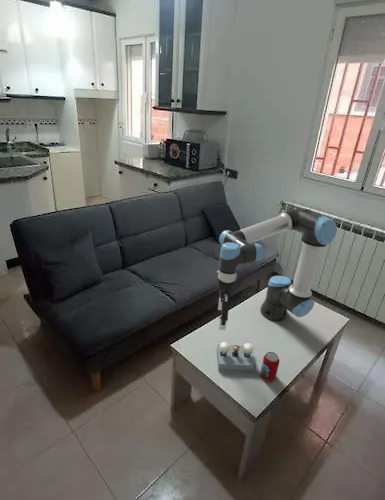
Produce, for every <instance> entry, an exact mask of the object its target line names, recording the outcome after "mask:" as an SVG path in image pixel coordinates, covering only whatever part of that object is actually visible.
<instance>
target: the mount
mask: <svg viewBox="0 0 385 500" xmlns="http://www.w3.org/2000/svg"><path fill="white" fill-rule="evenodd" d="M229 345H230V347H229V351H228V352H226V354H222V351H221V350H220V344H217V345H216V357H217V369H218V371H225V372H248V373H253V372H255V367H256V365H255V361H254V356H253V355H254V354H253V352H252V353H249V356H247V355H246V352H245V351H244V350H243V349H244V345H240V344H239V345H238V346H239V347H240V349H239V350H238V354H237V355H234V349H233V347H234V345H235V344H229Z"/></svg>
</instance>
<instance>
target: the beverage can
mask: <svg viewBox="0 0 385 500" xmlns="http://www.w3.org/2000/svg"><path fill="white" fill-rule="evenodd" d="M279 365H280V358H279V355H278V354H277V353H275V352H273V351H268V352H266V353H265V354H264V355H263V359H262V364H261V369H260V377H261V378H262V379H263V380H265V381H268V382H273V381H275V380H276V378H277V373H278V370H279Z"/></svg>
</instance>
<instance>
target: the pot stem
mask: <svg viewBox="0 0 385 500" xmlns="http://www.w3.org/2000/svg"><path fill="white" fill-rule="evenodd" d="M233 345H234V347H233V349H234V355H237V354H238V350H239V349H240V347H239V346H238V345H237V344H233Z"/></svg>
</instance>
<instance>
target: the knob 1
mask: <svg viewBox="0 0 385 500" xmlns="http://www.w3.org/2000/svg"><path fill="white" fill-rule="evenodd" d="M219 345H220V350H221V351H222V354H226V352H228V351H229V347H230V345H231V344H229V342H226V341H222V342H221V343H220V344H219Z"/></svg>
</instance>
